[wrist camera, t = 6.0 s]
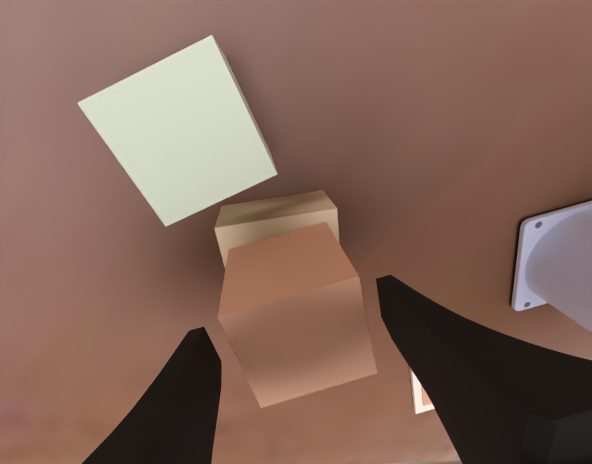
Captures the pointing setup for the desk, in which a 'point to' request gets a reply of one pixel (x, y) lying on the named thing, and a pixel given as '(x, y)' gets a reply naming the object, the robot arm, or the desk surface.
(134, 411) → the robot arm
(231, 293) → the terracotta cube
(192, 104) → the sage cube
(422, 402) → the tile
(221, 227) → the maple base
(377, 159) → the desk surface
